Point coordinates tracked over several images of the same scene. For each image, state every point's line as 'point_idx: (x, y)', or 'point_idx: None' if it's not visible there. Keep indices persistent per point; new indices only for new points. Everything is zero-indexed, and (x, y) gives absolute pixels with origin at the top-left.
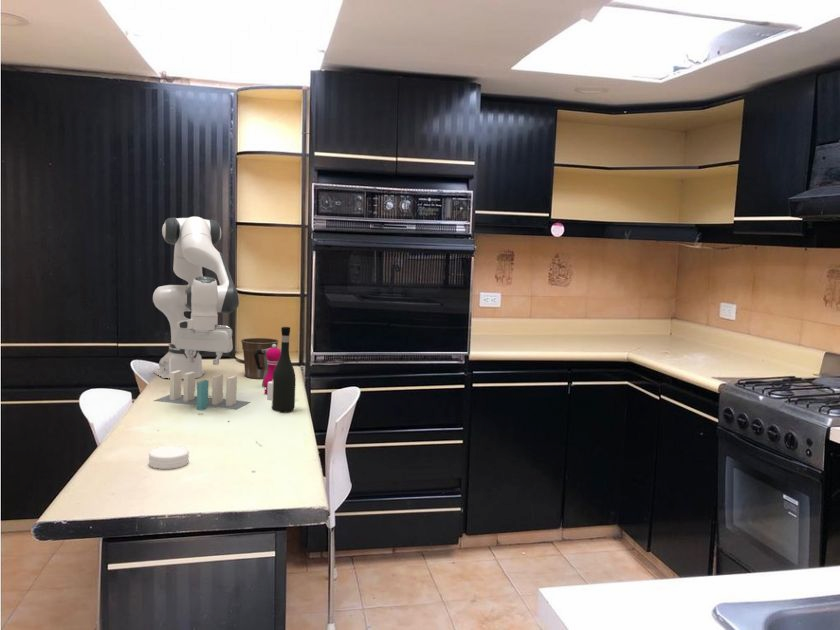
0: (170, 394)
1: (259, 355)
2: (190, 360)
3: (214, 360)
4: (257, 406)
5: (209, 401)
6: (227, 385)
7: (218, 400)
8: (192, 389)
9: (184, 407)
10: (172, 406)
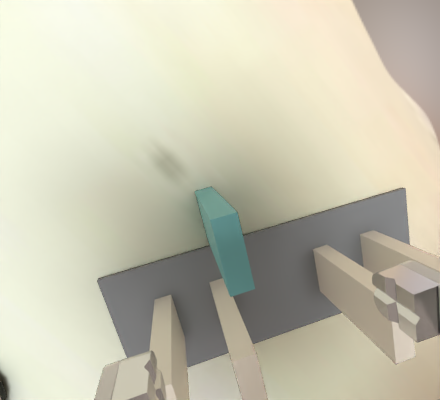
0: (385, 236)
1: None
2: (398, 276)
3: (125, 392)
4: (85, 366)
5: (256, 297)
6: (165, 353)
7: (215, 304)
8: (339, 297)
9: (277, 196)
10: (318, 181)
